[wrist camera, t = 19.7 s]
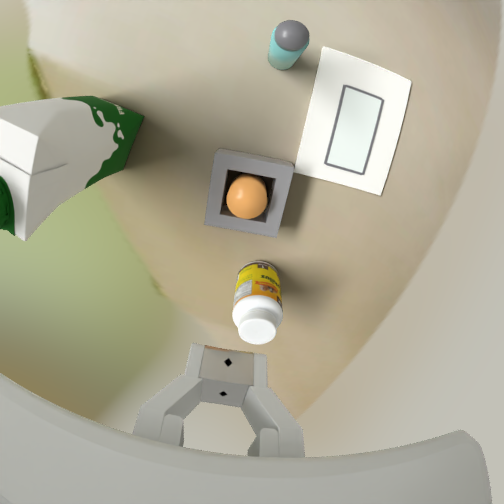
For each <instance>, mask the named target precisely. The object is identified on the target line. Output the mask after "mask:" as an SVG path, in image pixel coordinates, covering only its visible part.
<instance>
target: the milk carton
mask: <svg viewBox="0 0 504 504" xmlns="http://www.w3.org/2000/svg"><path fill="white" fill-rule="evenodd" d="M143 118H144V116H142V115H140V114H138V113H135V112H133V111H131V110H128V109H126V108H123V107H121V106H118V105H116V104H113V103H111V102H108V101H106V100H103V99H101V98H98V97H95V96H79V97H65V98H54V99H45V100H37V101H30V102H24V103H18V104H12V105H6V106H0V229H3V230H8V231H9V232H10V233H11V234H13V235H14V236H15V235H17V236H18V237H19V238H20V239H22V240H23V241H27V239H28V238H29V237H30V236H31V235H32V234H33V232H34V231H35V230H36V229H37V228H38V227H39V226H40V225H41V223H42V222H43V221H44V220H45V219H46V218H47V217H48V216H49V215H50V214H51V213H52V212H53V211H54V210H55V209H56V208H57V207H58V206H59V205H61V204H62V203H63V202H65V201H66V200H68V199H70V198H71V197H73V196H74V195H76V194H77V193H79V192H81V191H82V190H84V189H86V188H87V187H89V186H91V185H92V184H94V183H96V182H97V181H99V180H101V179H103V178H104V177H107V176H109V175H111V174H114V173H116V172H119V171H121V170H123V168H124V166H125V163H126V160H127V157H128V155H129V152H130V150H131V147H132V145H133V142H134V140H135V137H136V135H137V132H138V130H139V128H140V125H141V123H142V121H143Z"/></svg>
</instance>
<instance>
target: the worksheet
mask: <svg viewBox="0 0 504 504" xmlns="http://www.w3.org/2000/svg"><path fill="white" fill-rule="evenodd" d="M410 86H411V81H410V80H408V79H406V78H404V77H402V76H400V75H398V74H395V73H393V72H391V71H389V70H387V69H384V68H382V67H380V66H377V65H375V64H373V63H370V62H368V61H365V60H362V59H360V58H357V57H354V56H352V55H349V54H346V53H343V52H340V51H337V50H334V49H331V48H328V47H324V46H323V47H322V51H321V56H320V61H319V65H318V70H317V74H316V79H315V83H314V87H313V92H312V96H311V100H310V105H309V109H308V113H307V118H306V122H305V126H304V130H303V134H302V139H301V143H300V147H299V151H298V155H297V159H296V163H295V167H294V171H293V172H294V173H299V174H303V175H307V176H311V177H315V178H319V179H323V180H327V181H331V182H335V183H338V184H342V185H346V186H349V187H353V188H356V189H360V190H363V191H367V192H370V193H373V194H377V195H380V196H381V193H382V190H383V187H384V184H385V181H386V178H387V174H388V171H389V168H390V165H391V161H392V158H393V155H394V151H395V148H396V144H397V141H398V137H399V133H400V129H401V126H402V122H403V118H404V114H405V109H406V105H407V101H408V96H409V91H410Z"/></svg>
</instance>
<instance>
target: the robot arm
mask: <svg viewBox="0 0 504 504" xmlns="http://www.w3.org/2000/svg"><path fill="white" fill-rule="evenodd" d="M200 401H202V402H209V403H216V404H223V405H228V406H235V407H241V409H242V411H243V413H244V415H245V416H246V418H247V420H248V422H249V423H250V425H251V427H252V429H253V430H254V432H255V434H256V435H257V437H256V438H255V440H254V442H253V443H252V444H251V446H250V447H249V449H248V456H241V455H232V454H223V453H215V452H208V451H202V450H196V449H190V448H185V447H183V443H184V426H183V420H184V419H185V418H186V416H187V415H188V414H189V413H190V412H191V411H192V410H193V409H194V408H195V407H196V406H197V405H198V404H199V403H200ZM0 504H492V497H491V488H490V482H489V476H488V471H487V466H486V462H485V458H484V454H483V451H482V448H481V446H480V444H479V443H478V442H477V441H476V440H475V439H474V438H472V437H471V436H470V435H469V434H468V433H467V432H465V431H463V430H458V431H454V432H452V433H448V434H445V435H442V436H439V437H435V438H432V439H428V440H425V441H421V442H417V443H413V444H409V445H405V446H400V447H395V448H390V449H384V450H378V451H372V452H365V453H358V454H349V455H339V456H327V457H305V452H304V440H303V429H302V428H301V426H300V425H299V424H298V423H297V421H296V420H295V419H294V418H293V416H292V415H291V414H290V412H289V411H288V410H287V408H286V407H285V406H284V405H283V403H282V402H281V401H280V399H279V398H278V397H277V395H276V394H275V393H274V391H273V390H272V389H271V388H268V384H267V356H266V355H265V354H257V353H252V352H244V351H237V350H230V349H229V350H227V349H222V348H217V347H212V346H207V345H202V344H197V343H192V345H191V349H190V353H189V357H188V361H187V366H186V370H185V374H184V375H181V374H180V375H179V376H178V377H177V378H176V379H174V380H173V381H172V382H171V383H170V384H168V385H167V386H166V387H164V388H163V389H162V390H161V391H159V392H158V393H157V394H156V395H154V396H153V397H152V398H150V399H149V400H148V401H147V402H145V403H144V404H143V405H141V407H140V410H139V414H138V417H137V420H136V424H135V427H134V431H133V434H129V433H126V432H123V431H120V430H117V429H114V428H111V427H108V426H105V425H102V424H99V423H97V422H94V421H92V420H89V419H87V418H84V417H82V416H79V415H77V414H75V413H73V412H70V411H68V410H66V409H64V408H62V407H59V406H57V405H55V404H53V403H51V402H49V401H47V400H45V399H43V398H42V397H40V396H38V395H36V394H34V393H32V392H30V391H29V390H27V389H25V388H23V387H22V386H20V385H18V384H17V383H15V382H13V381H12V380H10V379H9V378H7V377H6V376H4V375H2V374H1V373H0Z"/></svg>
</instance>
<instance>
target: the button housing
mask: <svg viewBox="0 0 504 504" xmlns="http://www.w3.org/2000/svg"><path fill="white" fill-rule="evenodd" d="M229 170H235V171H240V172H246V173H251V174H256V175H261V176H266V177H271V178H273V182H272V187H271V191H270V195H269V200H268V204H267V208H266V213H264V212H262V213H261V214H260V215H259V216H257V217H255V218H251V219H243V218H239V217H237V216H236V215H234V214H233V213H232V212H231V211H230V209H229V208H228V206H227V205H223V203H224V197H225V191H226V185H227V179H228V173H229ZM293 171H294V166H293V165H292V163H291V162H288V161H284V160H279V159H274V158H270V157H265V156H260V155H255V154H249V153H244V152H239V151H233V150H227V149H221V148H219V149H218V150H217V151H216V152H215V155H214V161H213V167H212V174H211V180H210V187H209V194H208V201H207V208H206V215H205V223H204V225H209V226H215V227H220V228H226V229H232V230H237V231H242V232H248V233H253V234H259V235H264V236H269V237H274V238H277V234H278V230H279V226H280V222H281V219H282V215H283V211H284V207H285V203H286V199H287V195H288V191H289V187H290V183H291V179H292V175H293Z"/></svg>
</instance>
